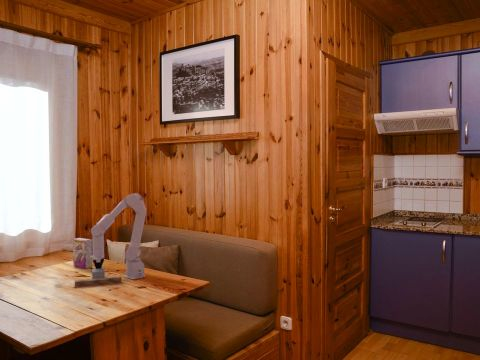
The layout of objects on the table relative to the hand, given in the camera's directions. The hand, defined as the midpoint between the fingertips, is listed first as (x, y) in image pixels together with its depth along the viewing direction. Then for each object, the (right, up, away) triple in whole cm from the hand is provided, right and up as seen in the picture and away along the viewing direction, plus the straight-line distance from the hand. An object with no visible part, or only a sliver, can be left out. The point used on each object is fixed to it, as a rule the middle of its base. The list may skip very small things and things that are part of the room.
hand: (98, 273), depth 225 cm
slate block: (+2, -2, -6) cm, 6 cm away
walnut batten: (+5, -2, -15) cm, 16 cm away
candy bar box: (-16, -1, +21) cm, 26 cm away
